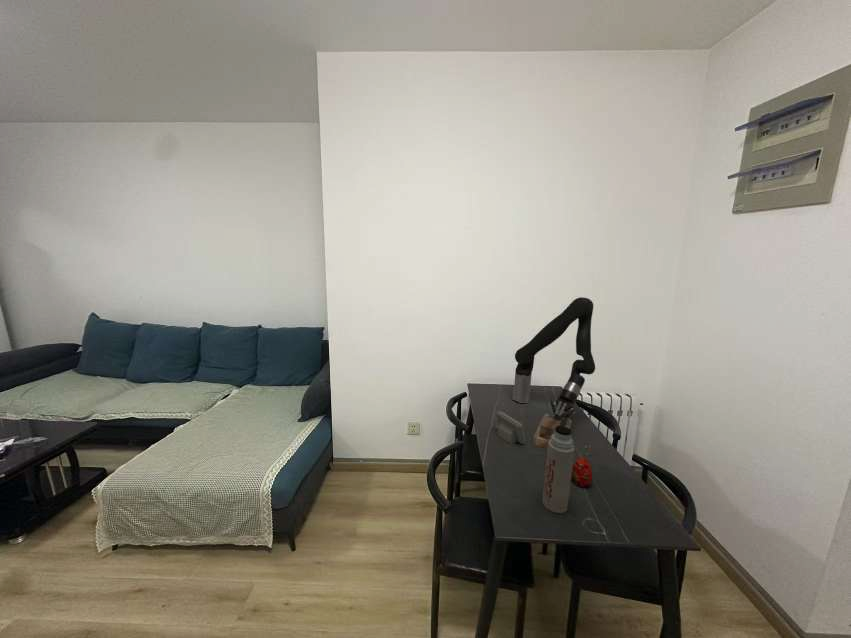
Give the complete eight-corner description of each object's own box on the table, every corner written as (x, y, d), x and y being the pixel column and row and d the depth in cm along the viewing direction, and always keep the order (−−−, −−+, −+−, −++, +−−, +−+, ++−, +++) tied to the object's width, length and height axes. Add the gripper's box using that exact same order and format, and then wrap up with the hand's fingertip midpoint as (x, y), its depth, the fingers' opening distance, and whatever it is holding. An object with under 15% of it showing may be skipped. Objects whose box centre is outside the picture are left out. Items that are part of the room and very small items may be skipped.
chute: (532, 444, 145) (533, 437, 145) (544, 419, 169) (544, 413, 169) (563, 453, 139) (564, 446, 138) (570, 426, 163) (571, 420, 162)
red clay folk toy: (566, 476, 124) (570, 441, 121) (581, 474, 126) (585, 439, 123) (580, 490, 117) (585, 453, 114) (596, 487, 118) (601, 450, 116)
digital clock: (527, 445, 145) (529, 423, 143) (509, 448, 142) (511, 426, 140) (508, 427, 160) (509, 408, 158) (491, 430, 157) (493, 410, 155)
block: (538, 443, 147) (540, 424, 145) (546, 434, 155) (547, 417, 153) (551, 448, 143) (553, 429, 142) (558, 439, 151) (560, 421, 149)
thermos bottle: (548, 513, 105) (557, 435, 100) (538, 496, 113) (545, 423, 108) (571, 512, 106) (581, 435, 101) (559, 495, 114) (568, 422, 109)
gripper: (555, 385, 163) (540, 413, 158) (581, 393, 153) (565, 424, 148) (559, 392, 168) (544, 420, 162) (585, 401, 158) (570, 431, 152)
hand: (554, 422), depth 155 cm, fingers closed
